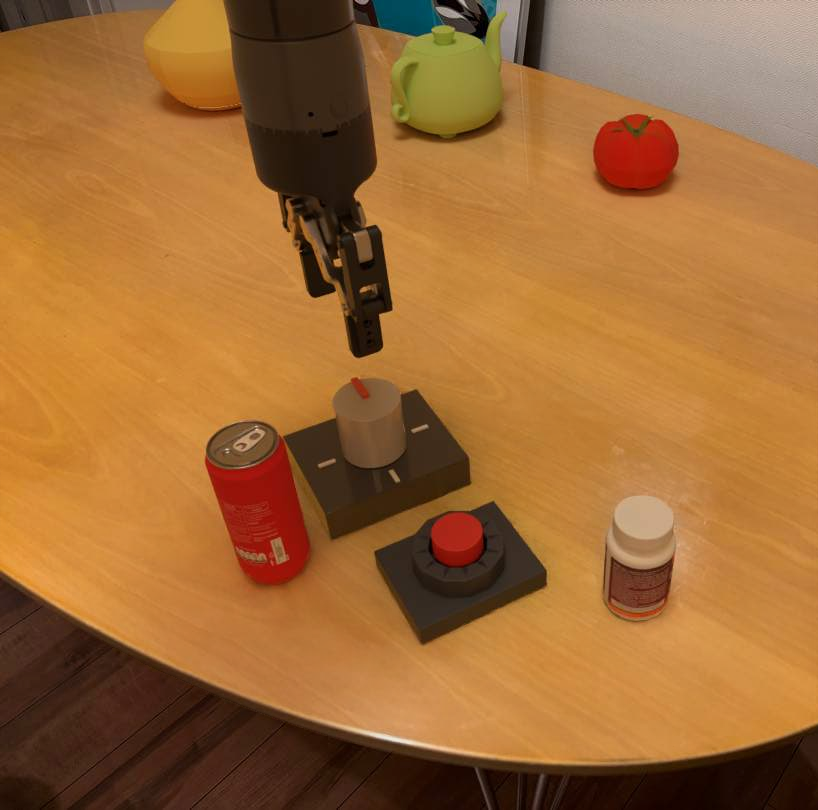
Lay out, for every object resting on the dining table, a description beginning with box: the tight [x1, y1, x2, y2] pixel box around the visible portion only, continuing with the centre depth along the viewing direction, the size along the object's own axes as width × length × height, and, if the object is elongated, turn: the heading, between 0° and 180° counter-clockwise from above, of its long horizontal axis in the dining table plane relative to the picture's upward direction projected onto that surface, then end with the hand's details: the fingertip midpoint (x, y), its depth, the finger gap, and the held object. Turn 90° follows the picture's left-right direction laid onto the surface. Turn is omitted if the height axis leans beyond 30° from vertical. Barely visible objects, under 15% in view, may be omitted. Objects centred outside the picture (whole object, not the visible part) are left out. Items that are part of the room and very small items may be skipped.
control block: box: [373, 500, 548, 645], centre depth 64 cm, size 10×8×4 cm
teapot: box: [389, 11, 508, 139], centre depth 124 cm, size 22×15×13 cm
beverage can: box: [204, 419, 311, 586], centre depth 62 cm, size 5×5×12 cm
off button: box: [431, 513, 483, 567], centre depth 62 cm, size 4×4×2 cm
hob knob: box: [332, 376, 407, 468], centre depth 69 cm, size 5×5×5 cm
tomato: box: [592, 113, 680, 190], centre depth 111 cm, size 11×11×8 cm
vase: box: [142, 0, 242, 112], centre depth 128 cm, size 18×18×19 cm
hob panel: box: [282, 388, 472, 541], centre depth 72 cm, size 12×10×3 cm
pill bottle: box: [602, 494, 677, 622], centre depth 61 cm, size 5×5×8 cm
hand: (344, 321), depth 64 cm, fingers open, 8 cm apart
